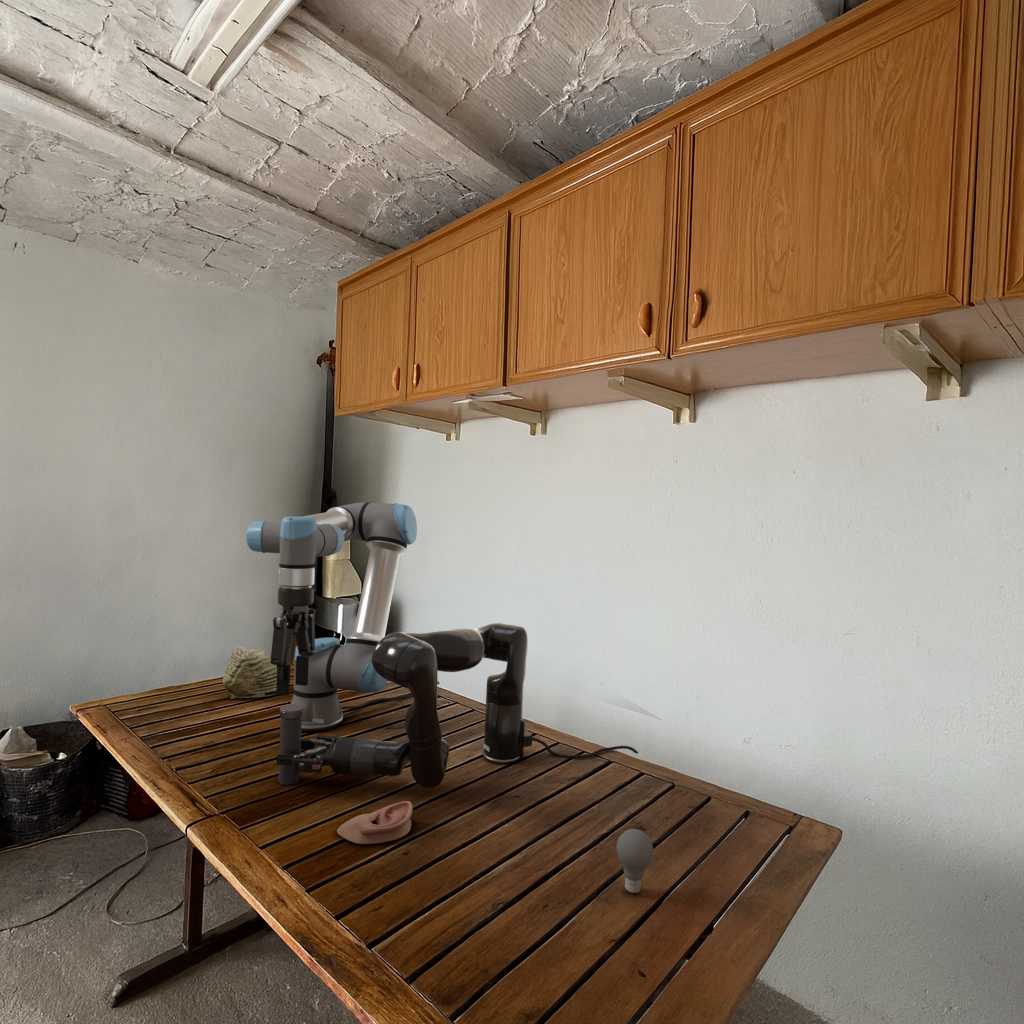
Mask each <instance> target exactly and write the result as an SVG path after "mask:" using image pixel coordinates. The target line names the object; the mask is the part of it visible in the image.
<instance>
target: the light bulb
mask: <svg viewBox="0 0 1024 1024" xmlns="http://www.w3.org/2000/svg"><path fill="white" fill-rule="evenodd" d="M615 849H616V854H617V857H618V859H619V861H620V863H621V865H622V867H623V873H624V874H623V875H624V876H625V878H624V888H625V890H627V891H628V892H630V893H634V894H635V893H639V892H640V891H641V889H642V887H641V886H642V879H643V877H644V875H645V871H646V868H647V867H648V866H649V864H650V863H651V861H652V859H653V855H654V847H653V843H652V841H651V838H649V836H648V835H647V834H646V833H645V832H643V831H642V830H641V829H636V828H629V829H627V830H625V831H623V832H622V833H621V834H620V835H619V837H618V839H617V841H616V847H615Z"/></svg>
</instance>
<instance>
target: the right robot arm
mask: <svg viewBox="0 0 1024 1024" xmlns="http://www.w3.org/2000/svg"><path fill="white" fill-rule="evenodd" d="M528 647H529V635H528V632H527V629H526V628H525V627H524V626H522V625H516V624H508V623H502V622H492V623H488V624H486V625H483V626H480V627H477V628H475V627H459V628H452V629H446V630H437V631H429V632H406V631H405V632H404V631H395V632H391V633H389V634H387V635H385V637H384V638H383V639H381V640H380V641H379V643H378V644H377V645H376V647H375V648H374V651H373V653H372V665H373V668H374V670H375V671H376V672H377V673H378V674H379V675H380V676H381V677H383V678H384V679H387V680H388V681H389V682H391V683H393V684H395V685H397V686H400V687H401V688H404V689H408V690H409V692H410V693H412V695H411V696H412V698H413V702H412V703H411V704H410V706H409V707H408V709H407V710H406V713H405V715H404V728H405V733H406V736H407V739H405V740H401V741H387V740H376V739H373V738H364V737H363V738H362V737H349V736H329V735H316V737H312V738H310V739H308V738H307V739H306V738H301V751H304V752H303V753H301V754H297V755H295V754H282V753H280V752H279V753H280V754H279V753H278V754H277V755H276V765H278V766H279V765H288V766H293V772H300V773H309V774H311V773H313V774H314V773H315V774H319V773H321V772H322V767H330V768H331V770H332V772H333V774H341V775H352V776H353V775H354V776H355V775H357V776H386V777H398V776H400V775H401V774H402V773H403V771H404V769H405V767H406V766H407V765H408V763H410V772H411V776H412V778H413V780H414V782H415V783H416V784H418V785H419V786H420V787H422V788H425V789H433V788H436V787H438V786H439V785H440V784H442V782H443V781H444V778H445V777H446V776H445V775H446V770H447V765H448V760H449V756H450V746H449V744H448V742H447V741H446V740H445V739H443V733H442V728H441V724H440V719H439V712H438V688H439V687H438V685H439V684H438V682H439V675H438V674H439V672H443V673H444V672H445V673H458V672H459V673H460V672H463V671H467V670H470V669H473V668H475V667H477V666H478V665H479V664H480V663H481V662H482V660H483V659H488V660H493V661H498V662H503V663H506V667H505V670H502V671H497V672H494V673H491V674H489V675H488V676H487V678H486V692H485V713H484V735H483V737H484V739H483V743H482V748H483V751H482V757H483V759H485V760H486V761H488V762H491V763H496V764H512V763H515V762H517V761H520V760H523V759H524V752H525V751H524V750H525V749H524V748H527V747H533V741H534V742H536V743H538V744H541V745H542V746H543V747H545V749H546V750H547V752H548V753H549V754H550V755H552V756H555V757H560V758H565V759H585V758H591V757H593V756H596V755H598V754H600V753H603V752H607V751H615V750H623V749H625V750H630V751H631V752H632V753H634V754H639V751H638V750H636V749H635V748H634V747H632V746H628V745H616V746H611V747H603V748H600V749H597V750H595V751H594V752H591V753H587V754H574V755H573V754H572V755H571V754H569V755H568V754H562V753H558V752H556V751H553V750H552V749H551V748H550V746H549V745H548V743H546V742H545V741H543V740H541V739H539V738H537V737H533V735H532V734H531V733H530V732H529V731H528V730H527V729H526V727H525V725H526V722H525V720H524V718H523V702H524V683H525V679H526V673H527V672H526V671H527V659H528V658H527V657H528V650H529V648H528ZM438 671H439V672H438Z"/></svg>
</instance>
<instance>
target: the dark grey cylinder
mask: <svg viewBox="0 0 1024 1024" xmlns="http://www.w3.org/2000/svg"><path fill="white" fill-rule="evenodd" d="M301 728H302V716H301V717H299V718H294V719H285V718H281V717H280V728H279V731H280V732H279V753H278V754H280V753H282V754H295V755H297V754H302V750H301V739H302V732H301ZM300 778H301V772H293V766H288V765H278V779H277V781H278V783H279V784H280V785H284V786H289V785H294V784H297V783H298V782H299V781H300V780H301V779H300Z"/></svg>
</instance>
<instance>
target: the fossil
mask: <svg viewBox="0 0 1024 1024" xmlns="http://www.w3.org/2000/svg"><path fill="white" fill-rule="evenodd" d="M270 660H271V657H270V656H269V655H268V654H267V653H266V652H265V650H264V649H263V648H260V647H258V648H251V647H247V646H246V647H245V646H238V647H237V648H236V649H235V650H233V651H232V653H231V656H230V657H229V659H228V660H227V663H226V666H225V668H224V671H223V675H222V676H223V677H222V685H223V687H224V688H225V690H226V691H228V693H229V698H230V699H250V698H264V697H271V696H275V695H276V686H277V665H273V664H271V663H270Z"/></svg>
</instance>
